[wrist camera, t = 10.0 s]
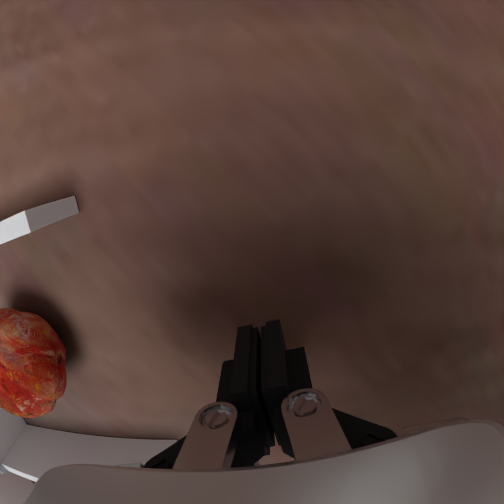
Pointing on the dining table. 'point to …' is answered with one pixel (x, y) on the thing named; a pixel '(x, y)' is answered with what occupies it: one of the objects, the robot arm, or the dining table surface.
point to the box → (47, 440)
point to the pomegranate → (30, 364)
